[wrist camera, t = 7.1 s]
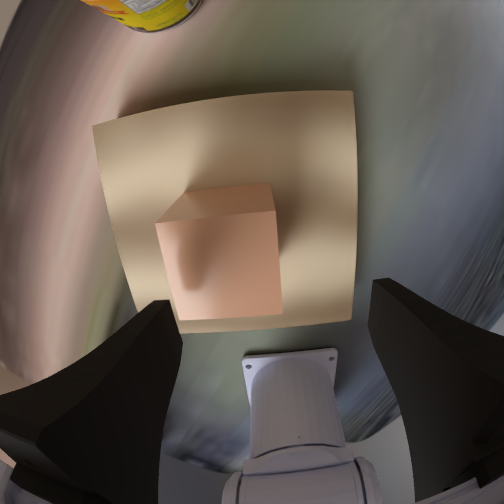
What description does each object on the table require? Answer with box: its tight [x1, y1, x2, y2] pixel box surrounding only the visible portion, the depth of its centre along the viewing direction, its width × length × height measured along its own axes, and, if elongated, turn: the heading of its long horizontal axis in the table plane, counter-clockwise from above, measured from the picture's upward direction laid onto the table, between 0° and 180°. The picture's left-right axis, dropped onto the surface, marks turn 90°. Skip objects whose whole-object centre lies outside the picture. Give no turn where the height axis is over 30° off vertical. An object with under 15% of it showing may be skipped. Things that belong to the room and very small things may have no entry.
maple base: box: [92, 90, 358, 333], centre depth 18 cm, size 14×14×3 cm
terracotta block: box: [155, 183, 283, 320], centre depth 14 cm, size 4×4×5 cm
